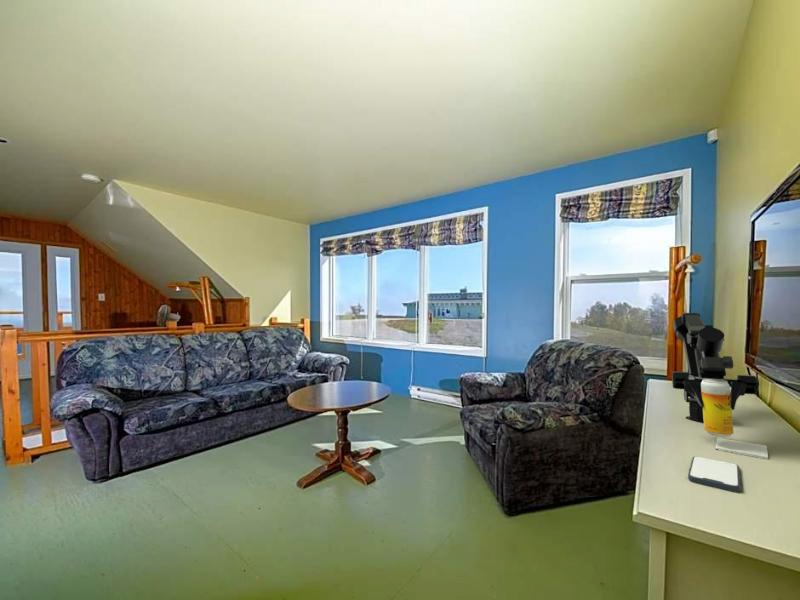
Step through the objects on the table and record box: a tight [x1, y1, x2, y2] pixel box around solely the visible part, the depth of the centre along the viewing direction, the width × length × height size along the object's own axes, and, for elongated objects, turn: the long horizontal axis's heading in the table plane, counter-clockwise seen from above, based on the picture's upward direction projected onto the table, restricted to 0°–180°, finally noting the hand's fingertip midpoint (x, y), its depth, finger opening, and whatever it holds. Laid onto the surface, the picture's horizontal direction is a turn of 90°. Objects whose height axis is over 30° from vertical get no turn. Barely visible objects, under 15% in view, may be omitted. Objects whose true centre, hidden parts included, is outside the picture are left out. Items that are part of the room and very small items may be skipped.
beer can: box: [701, 379, 734, 438], centre depth 98 cm, size 6×6×15 cm
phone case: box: [687, 455, 742, 493], centre depth 82 cm, size 9×2×16 cm
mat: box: [714, 437, 769, 460], centre depth 95 cm, size 10×10×1 cm
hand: (717, 407), depth 97 cm, fingers closed on beer can, 6 cm apart
